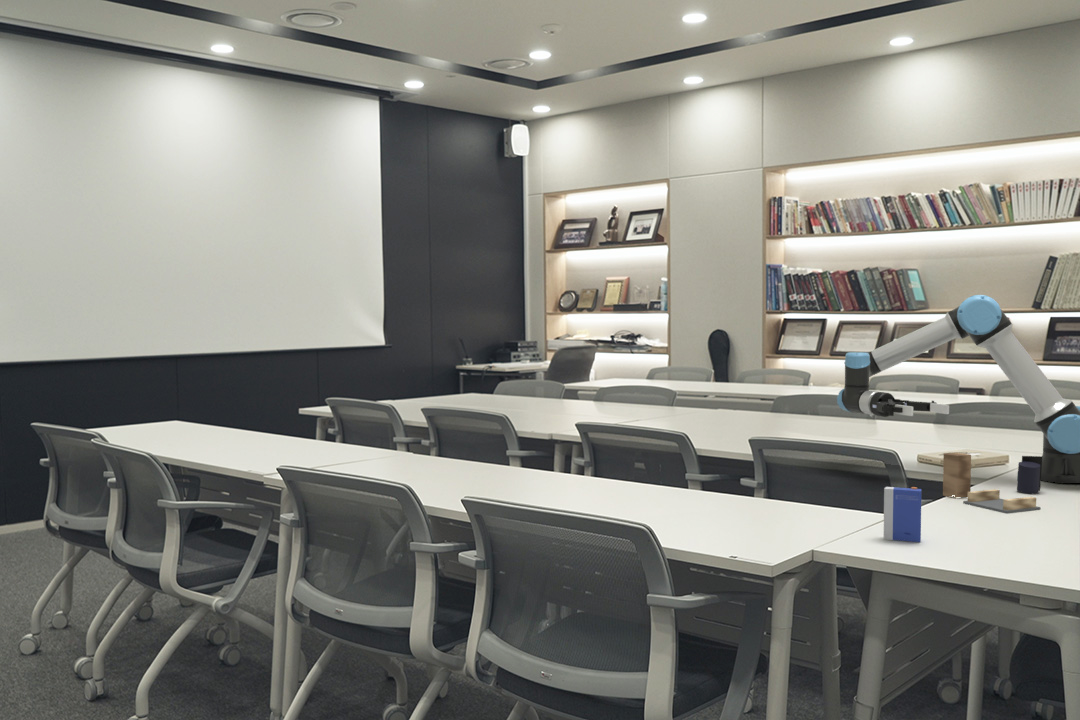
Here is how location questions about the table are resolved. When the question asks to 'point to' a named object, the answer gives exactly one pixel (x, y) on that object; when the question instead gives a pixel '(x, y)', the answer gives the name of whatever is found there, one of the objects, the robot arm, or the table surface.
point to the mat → (997, 506)
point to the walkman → (902, 514)
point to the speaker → (1029, 474)
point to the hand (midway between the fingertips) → (930, 410)
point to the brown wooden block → (956, 474)
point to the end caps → (1007, 503)
